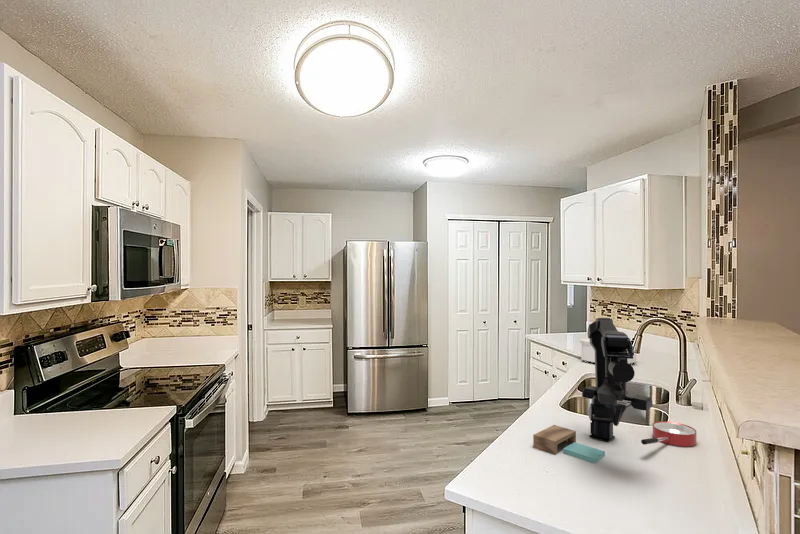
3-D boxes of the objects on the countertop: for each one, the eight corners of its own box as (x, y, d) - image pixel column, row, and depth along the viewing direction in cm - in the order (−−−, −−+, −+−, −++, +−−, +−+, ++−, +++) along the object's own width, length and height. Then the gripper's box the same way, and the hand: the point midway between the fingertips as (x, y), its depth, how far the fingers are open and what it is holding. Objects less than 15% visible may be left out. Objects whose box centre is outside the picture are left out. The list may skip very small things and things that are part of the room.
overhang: (575, 443, 148) (575, 430, 148) (555, 454, 138) (555, 441, 138) (554, 436, 154) (554, 424, 154) (533, 447, 144) (533, 434, 144)
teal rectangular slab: (604, 457, 138) (604, 451, 138) (594, 465, 132) (594, 458, 132) (574, 448, 145) (574, 442, 145) (563, 454, 140) (563, 448, 140)
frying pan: (676, 469, 128) (676, 447, 129) (629, 456, 138) (629, 436, 138) (700, 440, 151) (700, 422, 151) (658, 430, 160) (658, 413, 160)
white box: (646, 365, 272) (646, 342, 273) (621, 371, 257) (621, 346, 257) (597, 356, 301) (597, 335, 301) (571, 361, 286) (571, 339, 286)
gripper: (573, 373, 133) (574, 423, 133) (639, 385, 119) (639, 441, 119) (589, 367, 141) (590, 415, 140) (652, 378, 127) (653, 431, 127)
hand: (616, 425), depth 131 cm, fingers closed
